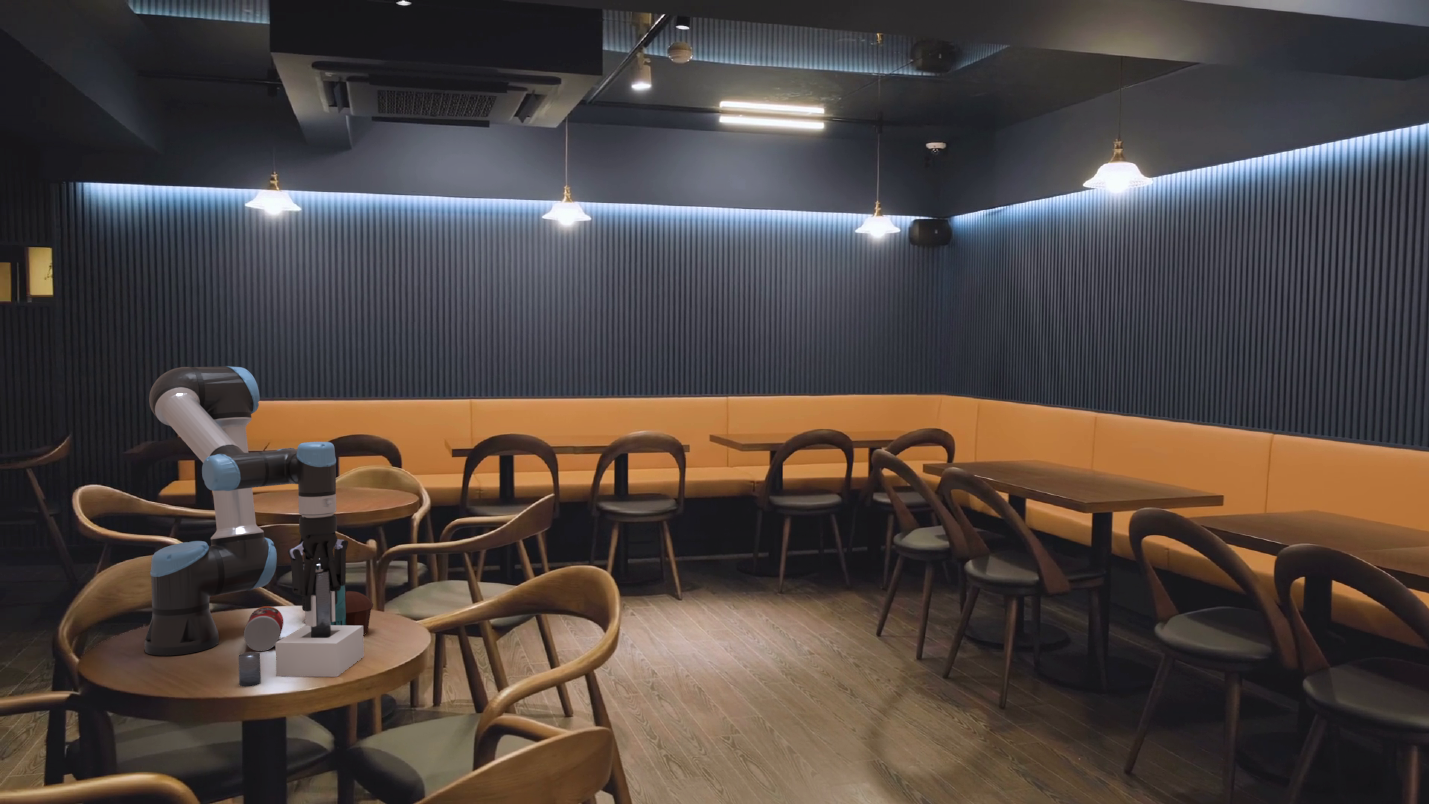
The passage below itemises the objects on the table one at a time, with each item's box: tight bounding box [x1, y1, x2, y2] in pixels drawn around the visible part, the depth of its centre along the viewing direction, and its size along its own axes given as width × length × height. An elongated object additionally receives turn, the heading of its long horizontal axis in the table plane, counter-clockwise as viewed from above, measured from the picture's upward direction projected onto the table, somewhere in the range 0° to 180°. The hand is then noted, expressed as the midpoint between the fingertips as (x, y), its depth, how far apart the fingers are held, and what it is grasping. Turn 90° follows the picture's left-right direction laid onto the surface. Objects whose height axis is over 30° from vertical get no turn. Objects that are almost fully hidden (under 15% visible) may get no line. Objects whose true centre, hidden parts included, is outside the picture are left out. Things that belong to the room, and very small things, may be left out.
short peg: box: [238, 651, 262, 688], centre depth 209 cm, size 4×4×6 cm
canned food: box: [243, 605, 284, 652], centre depth 237 cm, size 8×8×11 cm
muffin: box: [345, 590, 374, 636], centre depth 246 cm, size 12×11×10 cm
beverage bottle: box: [321, 560, 347, 625], centre depth 236 cm, size 6×7×20 cm
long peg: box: [311, 570, 331, 638], centre depth 220 cm, size 4×4×14 cm
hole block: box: [274, 624, 365, 678], centre depth 220 cm, size 13×14×7 cm
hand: (320, 622), depth 220 cm, fingers closed on long peg, 4 cm apart
